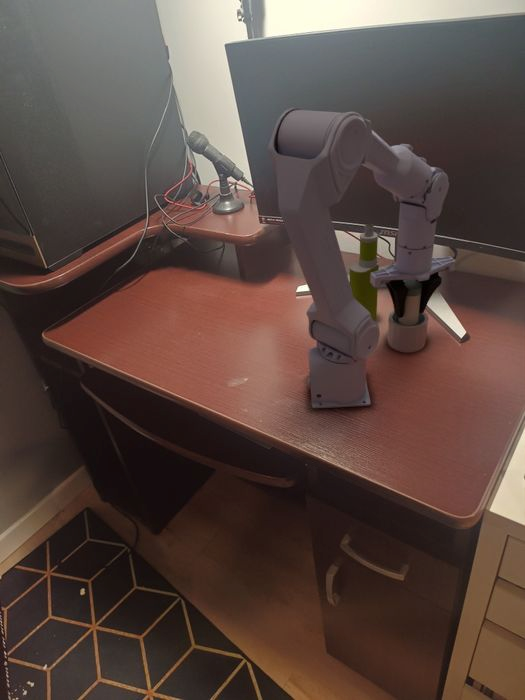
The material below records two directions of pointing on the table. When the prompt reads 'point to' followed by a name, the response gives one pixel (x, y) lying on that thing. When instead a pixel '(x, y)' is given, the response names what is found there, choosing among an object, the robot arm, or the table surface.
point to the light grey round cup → (407, 333)
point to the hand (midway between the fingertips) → (408, 312)
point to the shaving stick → (412, 303)
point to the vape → (366, 271)
